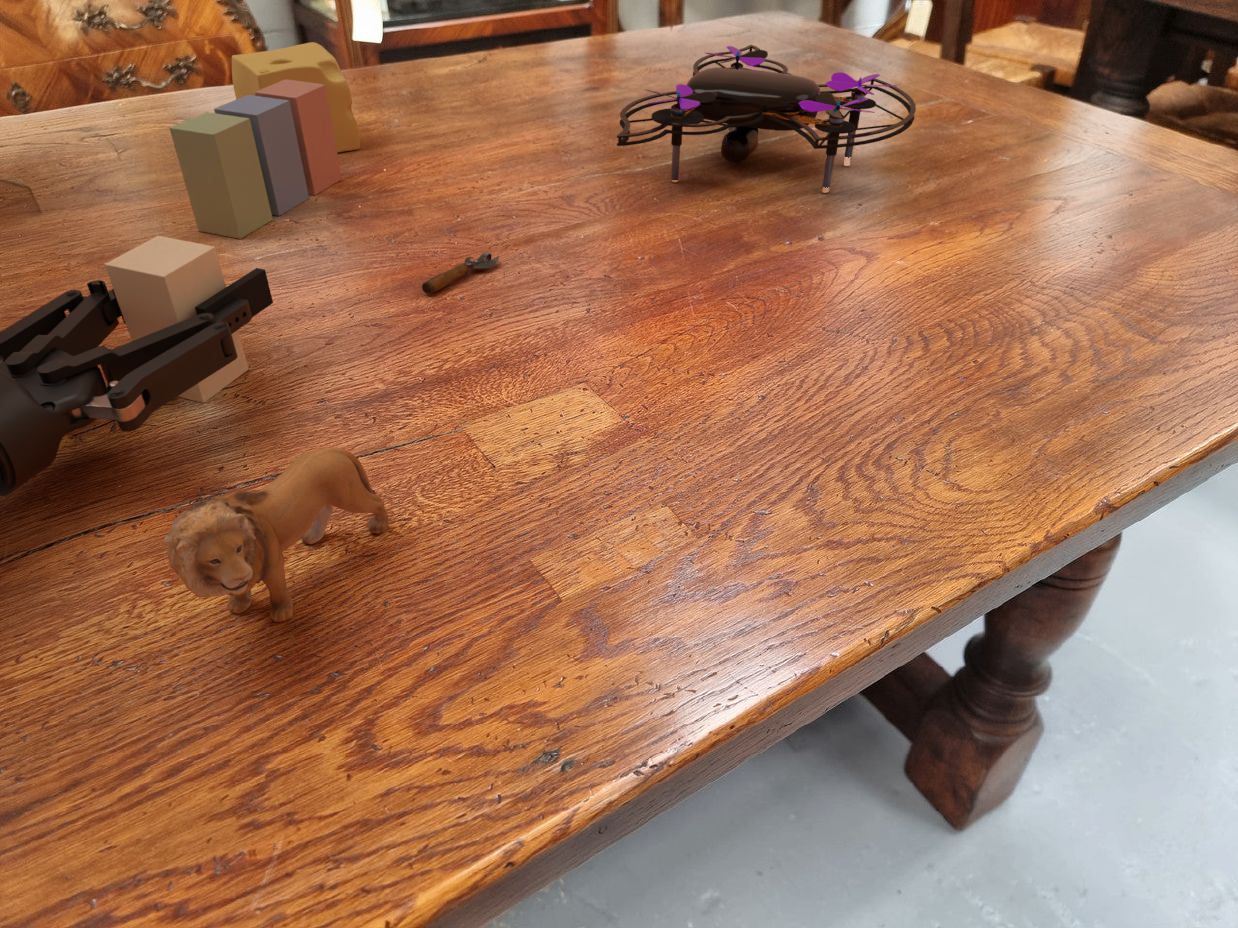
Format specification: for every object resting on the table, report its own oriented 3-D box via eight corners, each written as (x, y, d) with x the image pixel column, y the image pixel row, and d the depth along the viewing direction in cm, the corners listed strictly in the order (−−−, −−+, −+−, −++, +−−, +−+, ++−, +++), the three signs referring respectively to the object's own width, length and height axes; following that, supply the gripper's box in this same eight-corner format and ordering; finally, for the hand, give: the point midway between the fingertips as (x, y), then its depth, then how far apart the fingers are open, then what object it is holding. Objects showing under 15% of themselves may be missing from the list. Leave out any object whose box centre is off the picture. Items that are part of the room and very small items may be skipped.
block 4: (275, 188, 99) (254, 92, 93) (304, 173, 103) (285, 79, 96) (315, 195, 98) (295, 97, 91) (342, 179, 101) (325, 84, 95)
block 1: (198, 231, 90) (168, 127, 84) (232, 212, 94) (206, 111, 88) (240, 239, 89) (213, 134, 82) (273, 220, 92) (249, 118, 86)
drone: (727, 26, 118) (950, 52, 109) (721, 104, 124) (932, 135, 115) (586, 112, 90) (872, 157, 80) (587, 208, 96) (853, 260, 86)
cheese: (363, 150, 109) (349, 60, 103) (272, 167, 104) (251, 74, 98) (331, 126, 115) (316, 40, 109) (244, 141, 111) (223, 52, 105)
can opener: (430, 297, 79) (428, 284, 79) (412, 288, 81) (411, 276, 80) (505, 263, 85) (505, 251, 84) (488, 256, 86) (487, 244, 85)
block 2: (148, 389, 68) (103, 263, 62) (195, 356, 71) (158, 235, 65) (204, 403, 66) (163, 276, 60) (249, 369, 70) (215, 246, 64)
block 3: (238, 209, 94) (213, 108, 88) (269, 192, 98) (247, 94, 92) (279, 216, 93) (256, 115, 87) (309, 198, 97) (289, 100, 91)
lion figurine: (263, 683, 47) (217, 553, 41) (176, 655, 48) (121, 525, 42) (409, 506, 58) (389, 385, 52) (335, 487, 59) (308, 367, 53)
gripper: (-139, 463, 57) (138, 299, 74) (107, 540, 52) (344, 345, 69) (-204, 358, 52) (107, 210, 69) (59, 431, 47) (326, 251, 64)
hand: (224, 277), depth 69 cm, fingers open, 6 cm apart
